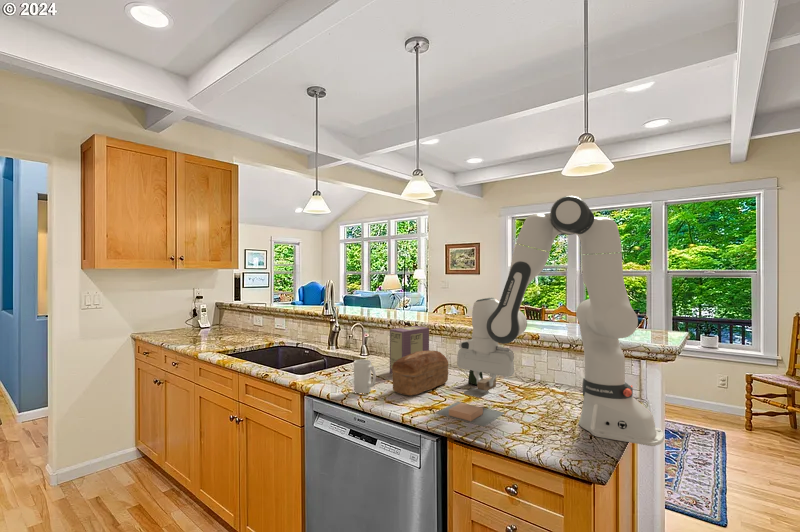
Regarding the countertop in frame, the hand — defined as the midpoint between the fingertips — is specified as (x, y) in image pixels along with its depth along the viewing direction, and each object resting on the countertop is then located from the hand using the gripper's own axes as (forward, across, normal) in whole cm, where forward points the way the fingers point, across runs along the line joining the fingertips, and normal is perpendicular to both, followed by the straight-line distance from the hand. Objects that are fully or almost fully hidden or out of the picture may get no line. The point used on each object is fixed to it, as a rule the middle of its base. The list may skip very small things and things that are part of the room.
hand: (484, 385), depth 142 cm
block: (+6, +1, +7) cm, 10 cm away
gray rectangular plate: (+8, +1, +8) cm, 12 cm away
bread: (+8, +31, -6) cm, 33 cm away
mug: (+8, +44, +13) cm, 47 cm away
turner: (+2, 0, +1) cm, 2 cm away
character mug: (+8, +17, -25) cm, 31 cm away
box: (+8, +51, -24) cm, 57 cm away
